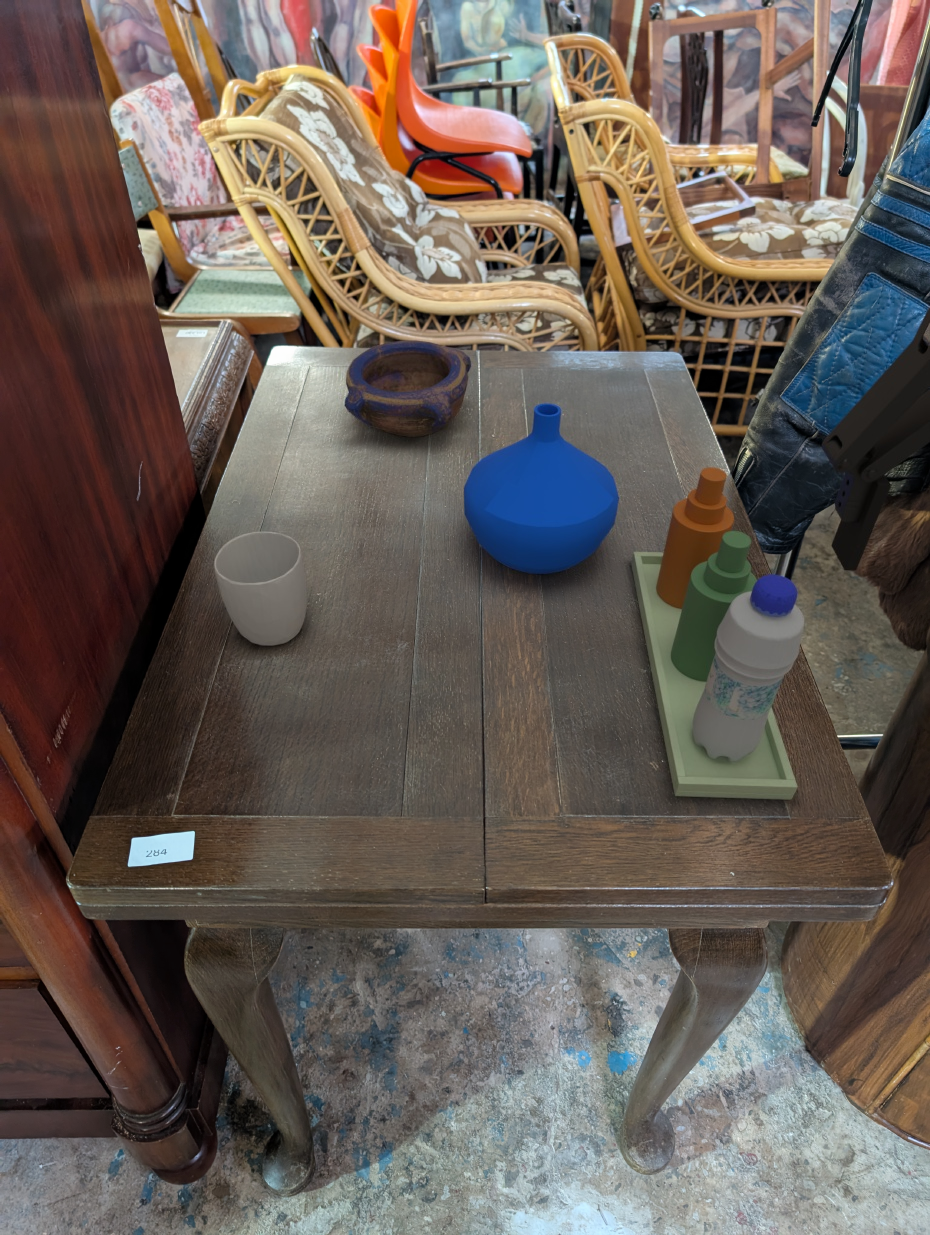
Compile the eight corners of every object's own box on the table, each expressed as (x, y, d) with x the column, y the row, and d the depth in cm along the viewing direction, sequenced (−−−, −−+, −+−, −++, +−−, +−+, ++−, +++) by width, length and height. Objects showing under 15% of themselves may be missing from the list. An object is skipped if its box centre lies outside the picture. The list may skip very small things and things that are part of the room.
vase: (475, 604, 92) (478, 461, 79) (453, 512, 105) (452, 377, 92) (628, 589, 94) (656, 447, 81) (588, 501, 107) (605, 366, 94)
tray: (791, 800, 72) (798, 787, 71) (674, 796, 72) (678, 783, 71) (718, 566, 97) (721, 553, 95) (631, 564, 97) (633, 551, 96)
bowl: (333, 447, 117) (325, 383, 110) (372, 391, 130) (367, 331, 123) (451, 462, 114) (450, 398, 107) (479, 403, 127) (480, 343, 120)
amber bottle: (720, 607, 90) (756, 488, 79) (666, 612, 90) (694, 493, 79) (700, 571, 95) (731, 455, 84) (648, 576, 94) (673, 459, 83)
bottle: (702, 704, 80) (753, 546, 66) (767, 735, 77) (834, 576, 63) (674, 747, 76) (721, 588, 62) (741, 782, 73) (806, 623, 59)
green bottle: (741, 678, 82) (784, 557, 71) (682, 684, 81) (716, 563, 71) (718, 635, 87) (755, 516, 76) (662, 641, 86) (691, 521, 75)
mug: (312, 652, 86) (299, 581, 79) (227, 658, 85) (207, 587, 78) (315, 577, 95) (304, 508, 88) (239, 582, 94) (222, 512, 88)
